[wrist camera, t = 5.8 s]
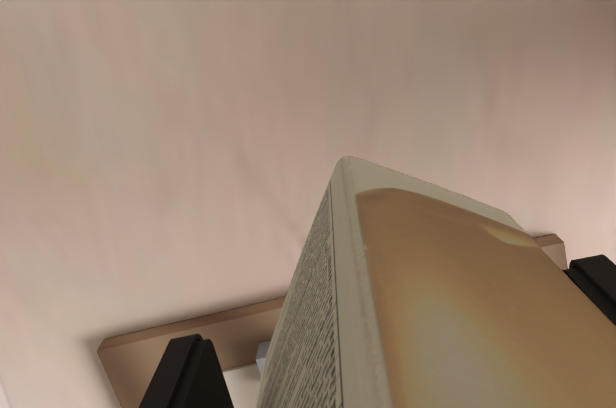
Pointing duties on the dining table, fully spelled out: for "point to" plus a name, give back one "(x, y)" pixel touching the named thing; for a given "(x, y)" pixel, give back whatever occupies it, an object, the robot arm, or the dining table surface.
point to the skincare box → (430, 308)
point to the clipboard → (220, 344)
